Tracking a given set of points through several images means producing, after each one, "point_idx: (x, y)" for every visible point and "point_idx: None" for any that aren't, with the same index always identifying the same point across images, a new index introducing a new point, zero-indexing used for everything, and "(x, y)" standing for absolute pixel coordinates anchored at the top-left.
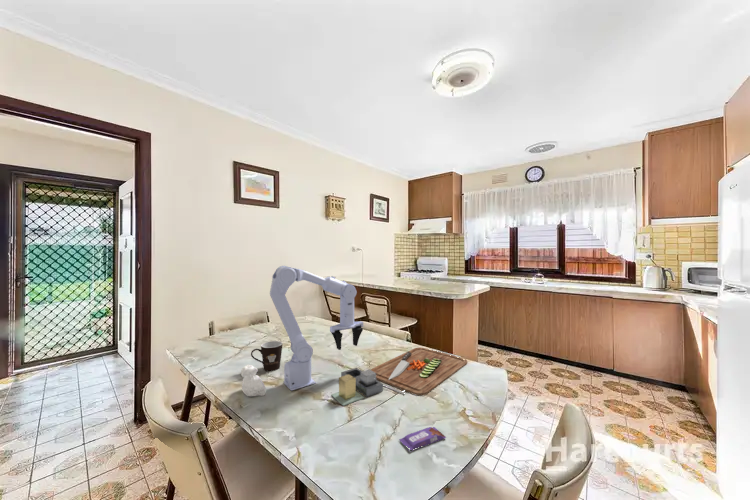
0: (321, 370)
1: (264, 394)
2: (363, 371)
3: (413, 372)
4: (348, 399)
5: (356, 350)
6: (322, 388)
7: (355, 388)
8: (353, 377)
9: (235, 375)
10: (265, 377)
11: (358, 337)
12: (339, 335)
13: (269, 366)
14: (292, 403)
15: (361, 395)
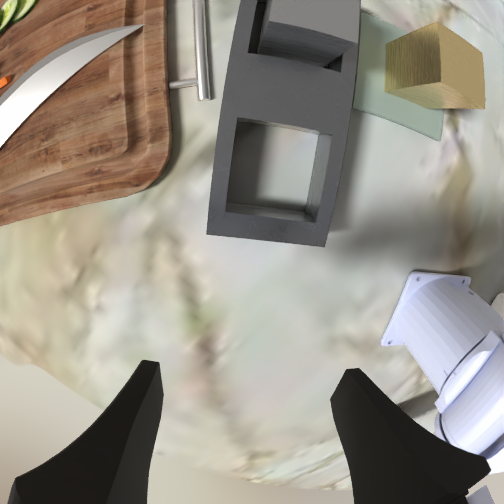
0: (310, 356)
1: (500, 293)
2: (333, 31)
3: (16, 46)
4: None
5: (83, 393)
6: (422, 217)
7: (404, 35)
8: (441, 35)
9: (435, 407)
10: (428, 382)
11: (106, 428)
12: (469, 466)
13: None
14: (500, 209)
15: (363, 25)
